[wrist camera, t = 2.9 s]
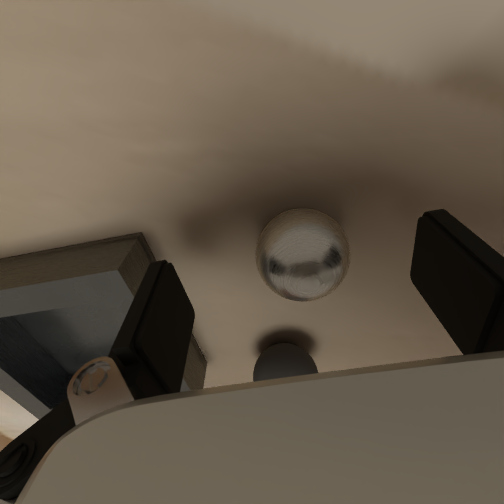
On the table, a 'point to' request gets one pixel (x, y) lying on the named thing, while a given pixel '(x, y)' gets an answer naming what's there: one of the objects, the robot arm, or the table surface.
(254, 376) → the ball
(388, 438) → the robot arm
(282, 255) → the steel ball
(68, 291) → the square metal tray
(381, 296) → the table surface
